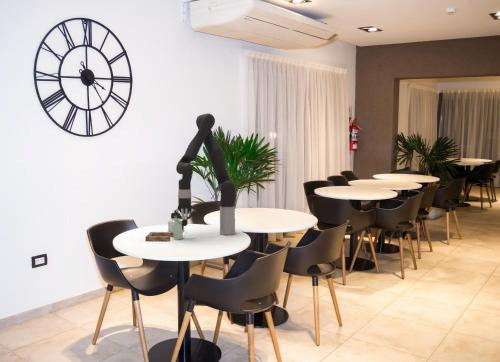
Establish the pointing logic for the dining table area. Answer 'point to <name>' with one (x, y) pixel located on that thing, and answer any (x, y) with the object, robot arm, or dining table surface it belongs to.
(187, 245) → the dining table surface
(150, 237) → the tray
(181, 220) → the medicine bottle
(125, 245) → the dining table surface
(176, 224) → the bottle
